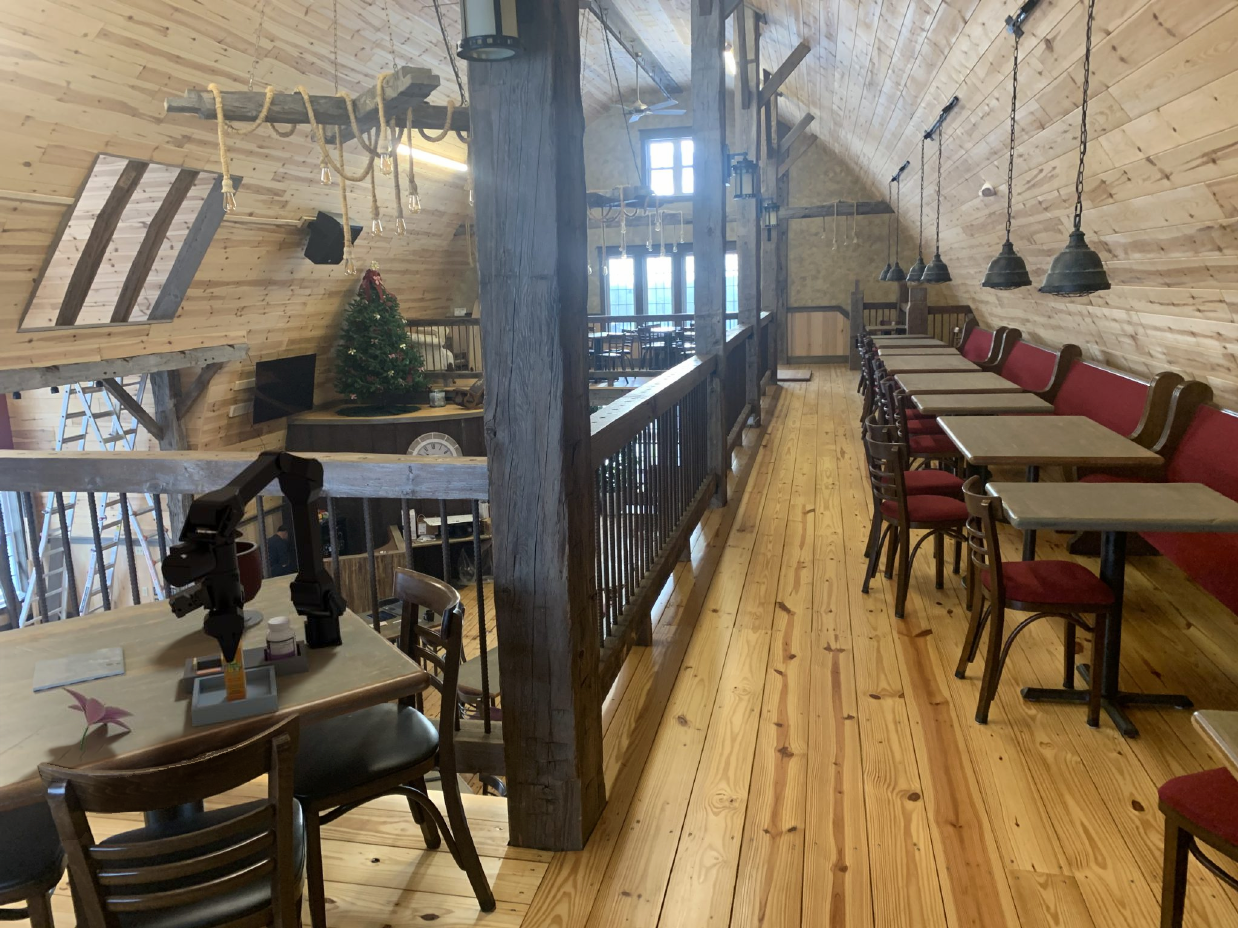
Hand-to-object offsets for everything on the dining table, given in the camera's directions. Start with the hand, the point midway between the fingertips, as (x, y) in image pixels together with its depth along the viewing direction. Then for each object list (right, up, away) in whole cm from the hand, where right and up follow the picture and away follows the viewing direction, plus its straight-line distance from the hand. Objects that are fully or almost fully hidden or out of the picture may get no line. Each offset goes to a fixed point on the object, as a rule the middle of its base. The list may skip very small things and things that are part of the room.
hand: (230, 652), depth 158 cm
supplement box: (0, -9, +2) cm, 9 cm away
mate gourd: (-17, -2, +41) cm, 44 cm away
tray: (0, -9, +2) cm, 10 cm away
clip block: (-3, -7, +14) cm, 16 cm away
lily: (-17, -12, -9) cm, 23 cm away
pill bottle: (+3, -7, +17) cm, 18 cm away
